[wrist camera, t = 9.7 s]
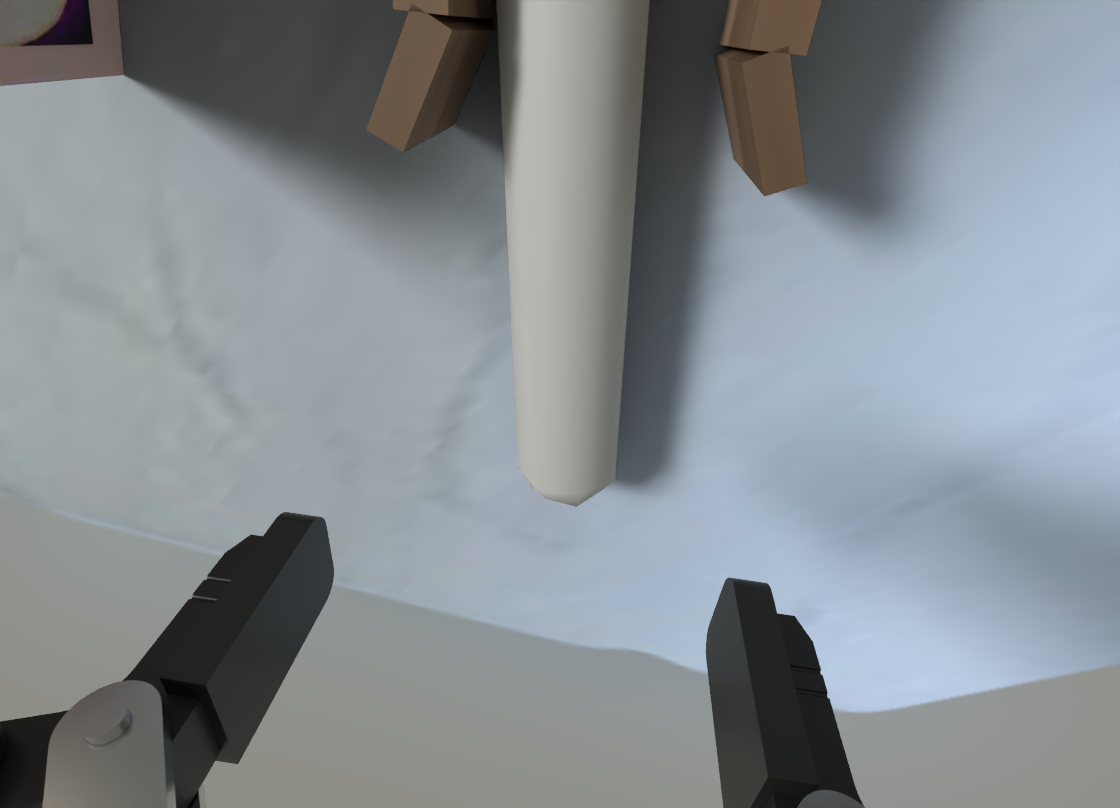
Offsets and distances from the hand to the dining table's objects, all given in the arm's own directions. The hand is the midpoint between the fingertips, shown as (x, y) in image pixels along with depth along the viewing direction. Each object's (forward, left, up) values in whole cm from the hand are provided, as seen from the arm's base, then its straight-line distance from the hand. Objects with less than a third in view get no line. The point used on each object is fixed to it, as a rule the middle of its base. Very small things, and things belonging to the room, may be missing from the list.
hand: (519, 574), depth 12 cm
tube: (0, -2, -17) cm, 17 cm away
